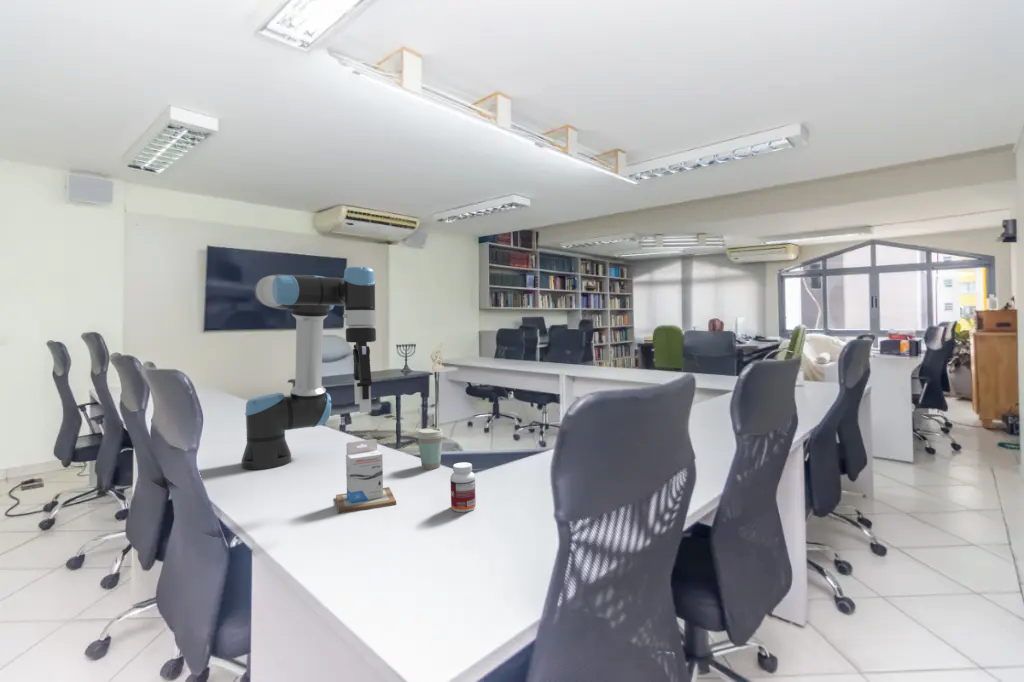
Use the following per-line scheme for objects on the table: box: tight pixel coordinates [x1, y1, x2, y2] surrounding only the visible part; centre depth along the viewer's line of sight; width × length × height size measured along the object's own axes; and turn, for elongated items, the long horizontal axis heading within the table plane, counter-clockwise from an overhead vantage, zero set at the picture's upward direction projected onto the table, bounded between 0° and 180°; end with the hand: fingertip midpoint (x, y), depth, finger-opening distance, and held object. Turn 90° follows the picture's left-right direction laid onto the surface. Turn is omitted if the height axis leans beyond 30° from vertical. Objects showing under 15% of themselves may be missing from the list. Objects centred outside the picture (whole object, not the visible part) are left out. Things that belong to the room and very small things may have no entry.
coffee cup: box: [416, 427, 444, 470], centre depth 156 cm, size 8×9×12 cm
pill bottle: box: [450, 462, 477, 513], centre depth 120 cm, size 6×6×11 cm
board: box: [335, 486, 397, 514], centre depth 126 cm, size 12×14×1 cm
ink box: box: [345, 438, 384, 503], centre depth 126 cm, size 8×5×15 cm, turn 121°
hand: (362, 407), depth 126 cm, fingers open, 13 cm apart
